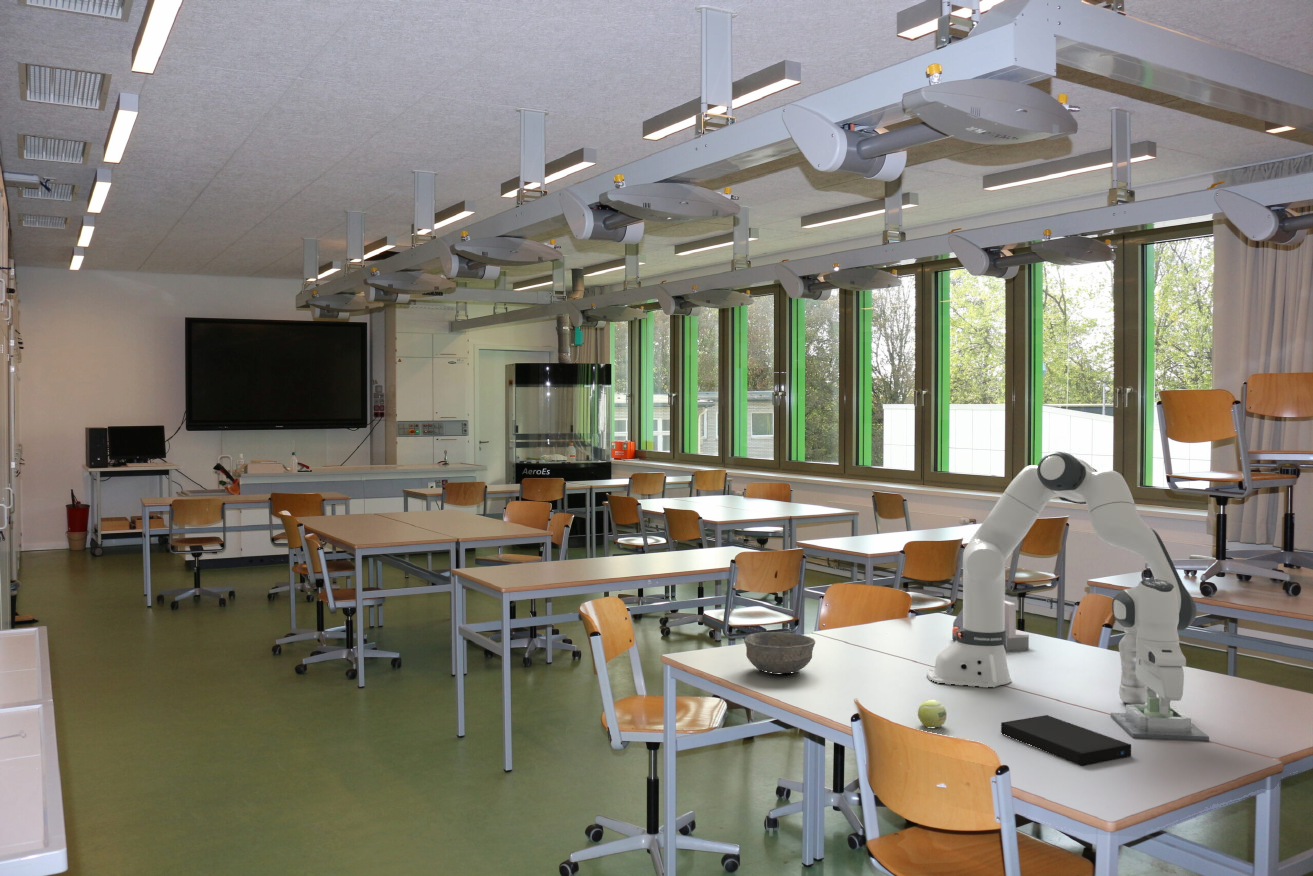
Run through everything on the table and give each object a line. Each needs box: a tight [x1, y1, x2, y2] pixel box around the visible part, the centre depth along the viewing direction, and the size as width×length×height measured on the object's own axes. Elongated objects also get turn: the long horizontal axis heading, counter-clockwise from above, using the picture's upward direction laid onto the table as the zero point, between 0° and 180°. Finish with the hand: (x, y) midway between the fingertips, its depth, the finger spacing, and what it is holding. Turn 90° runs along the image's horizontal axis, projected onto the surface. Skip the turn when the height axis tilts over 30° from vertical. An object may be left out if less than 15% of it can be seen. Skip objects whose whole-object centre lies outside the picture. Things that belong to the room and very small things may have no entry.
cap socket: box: [1110, 703, 1210, 742], centre depth 222 cm, size 16×16×4 cm
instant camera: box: [951, 600, 1030, 652], centre depth 310 cm, size 21×21×15 cm
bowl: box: [743, 631, 816, 674], centre depth 275 cm, size 21×21×10 cm
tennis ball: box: [917, 698, 947, 728], centre depth 225 cm, size 6×7×7 cm
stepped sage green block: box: [1144, 696, 1173, 717], centre depth 222 cm, size 6×6×6 cm
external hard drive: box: [1000, 714, 1132, 767], centre depth 211 cm, size 14×23×3 cm, turn 23°
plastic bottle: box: [1118, 627, 1148, 705], centre depth 241 cm, size 6×7×20 cm
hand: (1157, 709), depth 222 cm, fingers open, 5 cm apart
